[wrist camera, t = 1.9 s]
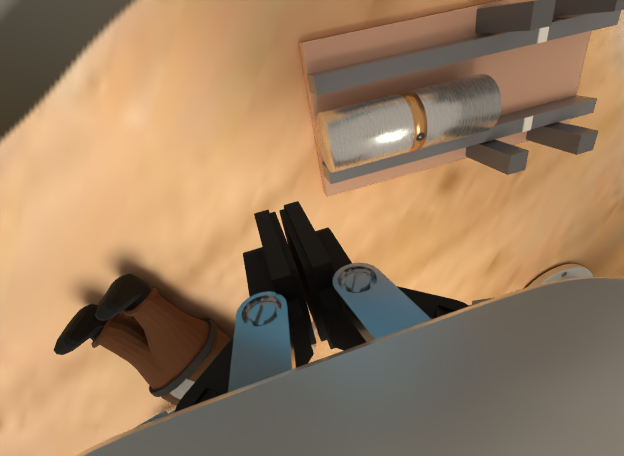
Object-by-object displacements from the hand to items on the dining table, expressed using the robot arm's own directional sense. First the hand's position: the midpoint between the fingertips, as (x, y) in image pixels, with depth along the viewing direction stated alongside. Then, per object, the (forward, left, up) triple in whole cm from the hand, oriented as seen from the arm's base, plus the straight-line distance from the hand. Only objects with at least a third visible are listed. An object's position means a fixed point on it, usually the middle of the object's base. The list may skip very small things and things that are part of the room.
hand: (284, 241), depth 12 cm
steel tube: (0, -12, -15) cm, 19 cm away
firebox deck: (0, -18, -16) cm, 24 cm away
